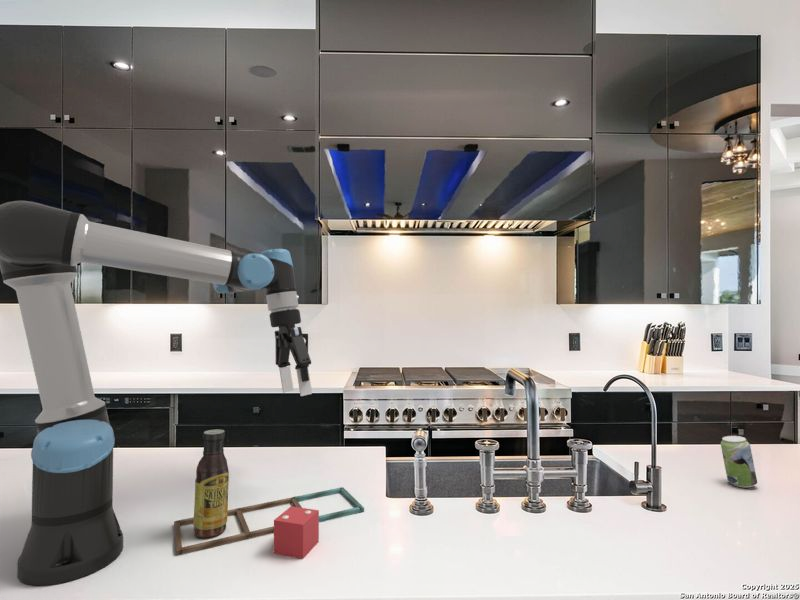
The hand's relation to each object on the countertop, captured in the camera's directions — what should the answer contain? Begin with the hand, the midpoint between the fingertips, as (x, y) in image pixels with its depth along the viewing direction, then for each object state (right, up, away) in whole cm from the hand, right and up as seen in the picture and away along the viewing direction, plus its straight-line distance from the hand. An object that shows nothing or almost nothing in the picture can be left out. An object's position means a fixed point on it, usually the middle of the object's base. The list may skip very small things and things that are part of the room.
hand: (296, 393), depth 113 cm
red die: (+7, -23, -30) cm, 38 cm away
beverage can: (+112, -23, 0) cm, 114 cm away
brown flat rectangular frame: (-1, -23, -18) cm, 29 cm away
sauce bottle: (-12, -23, -24) cm, 35 cm away
